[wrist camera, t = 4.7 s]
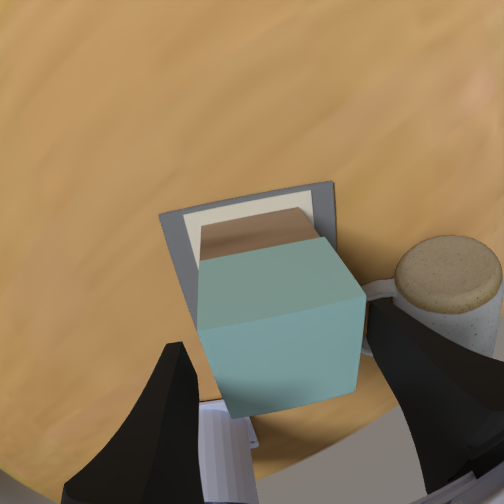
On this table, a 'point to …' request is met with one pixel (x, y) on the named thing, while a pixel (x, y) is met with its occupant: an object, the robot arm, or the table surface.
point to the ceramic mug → (448, 290)
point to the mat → (192, 218)
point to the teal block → (280, 326)
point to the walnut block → (255, 233)
